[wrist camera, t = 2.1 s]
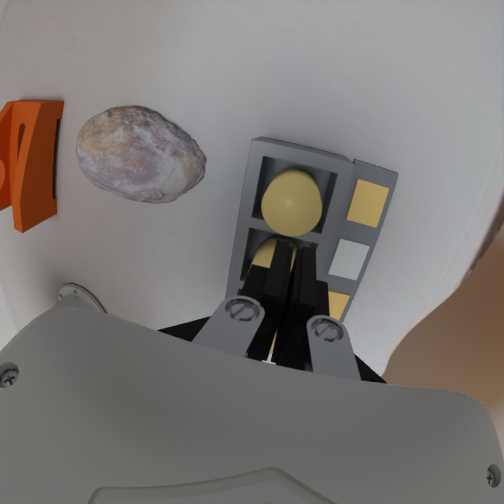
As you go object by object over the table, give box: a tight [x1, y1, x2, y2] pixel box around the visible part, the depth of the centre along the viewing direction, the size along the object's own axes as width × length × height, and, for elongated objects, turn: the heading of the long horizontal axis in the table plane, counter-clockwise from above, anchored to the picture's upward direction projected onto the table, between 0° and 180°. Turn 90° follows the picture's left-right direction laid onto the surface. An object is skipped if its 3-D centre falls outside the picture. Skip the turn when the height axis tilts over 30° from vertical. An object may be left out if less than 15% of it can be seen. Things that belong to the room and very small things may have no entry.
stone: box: [76, 106, 206, 204], centre depth 29 cm, size 17×10×10 cm
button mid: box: [248, 236, 298, 273], centre depth 26 cm, size 5×5×5 cm
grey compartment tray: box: [225, 137, 355, 299], centre depth 30 cm, size 22×9×6 cm, turn 170°
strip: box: [320, 160, 398, 323], centre depth 31 cm, size 22×5×1 cm, turn 170°
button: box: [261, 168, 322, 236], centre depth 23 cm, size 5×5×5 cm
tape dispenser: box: [0, 100, 64, 233], centre depth 30 cm, size 18×13×8 cm
